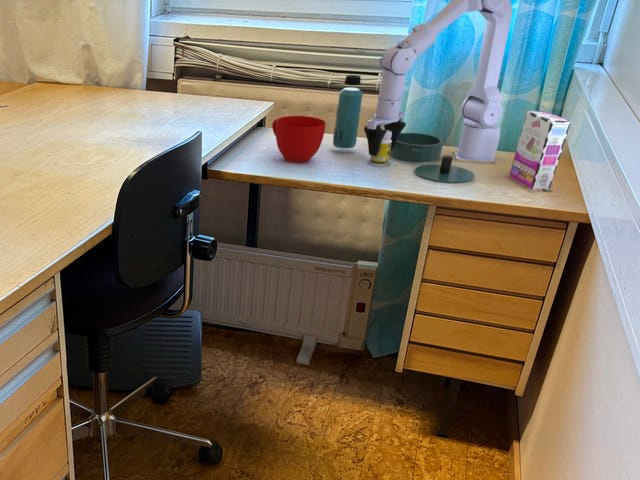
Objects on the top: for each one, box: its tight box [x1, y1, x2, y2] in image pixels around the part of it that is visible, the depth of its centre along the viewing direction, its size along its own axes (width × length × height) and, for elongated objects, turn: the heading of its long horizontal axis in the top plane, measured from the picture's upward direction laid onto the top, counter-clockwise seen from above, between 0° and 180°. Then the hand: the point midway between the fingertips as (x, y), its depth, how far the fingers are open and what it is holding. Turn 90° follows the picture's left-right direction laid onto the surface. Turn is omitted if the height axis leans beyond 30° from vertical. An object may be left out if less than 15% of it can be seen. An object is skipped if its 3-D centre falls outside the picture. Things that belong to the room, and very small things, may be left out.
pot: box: [389, 132, 444, 163], centre depth 192 cm, size 13×19×5 cm
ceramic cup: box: [271, 115, 327, 164], centre depth 189 cm, size 13×17×10 cm
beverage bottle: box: [332, 74, 364, 149], centre depth 193 cm, size 6×7×20 cm
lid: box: [414, 155, 475, 184], centre depth 177 cm, size 14×14×5 cm
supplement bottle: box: [369, 130, 392, 165], centre depth 185 cm, size 5×5×8 cm
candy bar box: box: [508, 110, 572, 192], centre depth 169 cm, size 11×5×16 cm, turn 5°
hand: (380, 152), depth 186 cm, fingers open, 7 cm apart
